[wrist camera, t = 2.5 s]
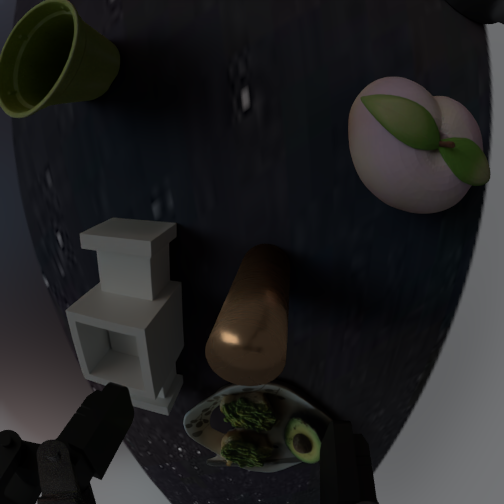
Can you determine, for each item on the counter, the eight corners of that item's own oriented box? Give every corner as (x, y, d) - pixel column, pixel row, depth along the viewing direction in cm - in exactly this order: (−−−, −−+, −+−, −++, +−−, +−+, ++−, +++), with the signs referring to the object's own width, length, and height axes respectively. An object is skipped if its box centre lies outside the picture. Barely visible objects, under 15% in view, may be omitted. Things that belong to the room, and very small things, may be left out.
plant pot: (63, 131, 24) (-3, 136, 16) (56, 50, 21) (-4, 37, 13) (143, 98, 22) (81, 84, 14) (132, 10, 20) (78, -24, 11)
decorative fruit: (323, 180, 23) (344, 203, 14) (346, 80, 20) (379, 40, 11) (428, 212, 22) (493, 252, 13) (450, 120, 20) (525, 115, 10)
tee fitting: (180, 223, 26) (137, 255, 18) (186, 383, 32) (163, 436, 24) (109, 217, 26) (54, 244, 19) (129, 369, 32) (98, 415, 25)
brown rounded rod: (292, 246, 25) (291, 329, 14) (287, 291, 26) (280, 390, 15) (243, 241, 25) (205, 317, 14) (240, 285, 27) (205, 379, 16)
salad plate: (249, 477, 38) (245, 501, 34) (157, 418, 35) (145, 443, 31) (360, 433, 32) (364, 461, 28) (265, 354, 29) (261, 385, 25)
